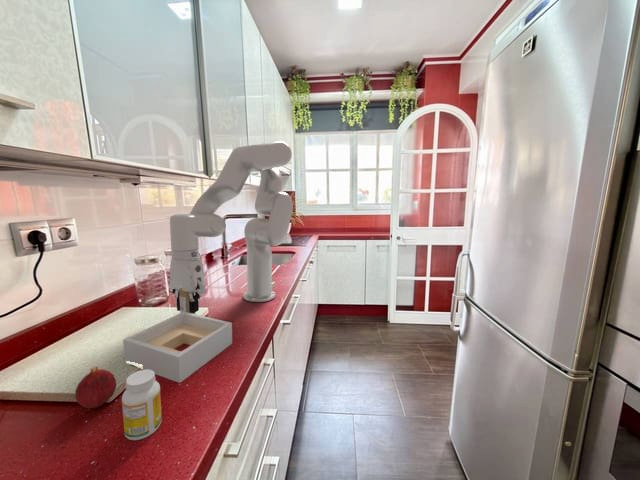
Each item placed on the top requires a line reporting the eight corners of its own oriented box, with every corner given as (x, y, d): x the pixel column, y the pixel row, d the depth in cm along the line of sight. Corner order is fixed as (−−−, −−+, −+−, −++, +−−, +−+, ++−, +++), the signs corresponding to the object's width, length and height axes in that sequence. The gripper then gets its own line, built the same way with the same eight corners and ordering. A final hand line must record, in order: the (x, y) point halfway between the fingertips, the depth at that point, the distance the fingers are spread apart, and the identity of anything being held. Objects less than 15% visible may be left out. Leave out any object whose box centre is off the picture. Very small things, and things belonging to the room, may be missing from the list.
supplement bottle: (133, 447, 42) (129, 393, 40) (118, 431, 44) (113, 379, 43) (168, 423, 46) (165, 374, 45) (152, 410, 49) (149, 363, 48)
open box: (184, 330, 78) (183, 311, 77) (232, 343, 72) (231, 322, 71) (125, 363, 62) (123, 339, 61) (179, 383, 56) (178, 357, 55)
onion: (124, 401, 51) (121, 363, 50) (88, 423, 46) (84, 382, 44) (106, 391, 53) (103, 354, 52) (70, 411, 48) (65, 371, 47)
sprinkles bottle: (197, 321, 84) (195, 280, 82) (181, 324, 81) (179, 282, 79) (194, 315, 88) (193, 276, 86) (179, 318, 85) (177, 278, 83)
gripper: (216, 255, 82) (217, 310, 85) (175, 249, 87) (178, 302, 90) (197, 260, 75) (199, 320, 78) (154, 253, 80) (157, 310, 83)
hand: (187, 310), depth 84 cm, fingers closed on sprinkles bottle, 4 cm apart
